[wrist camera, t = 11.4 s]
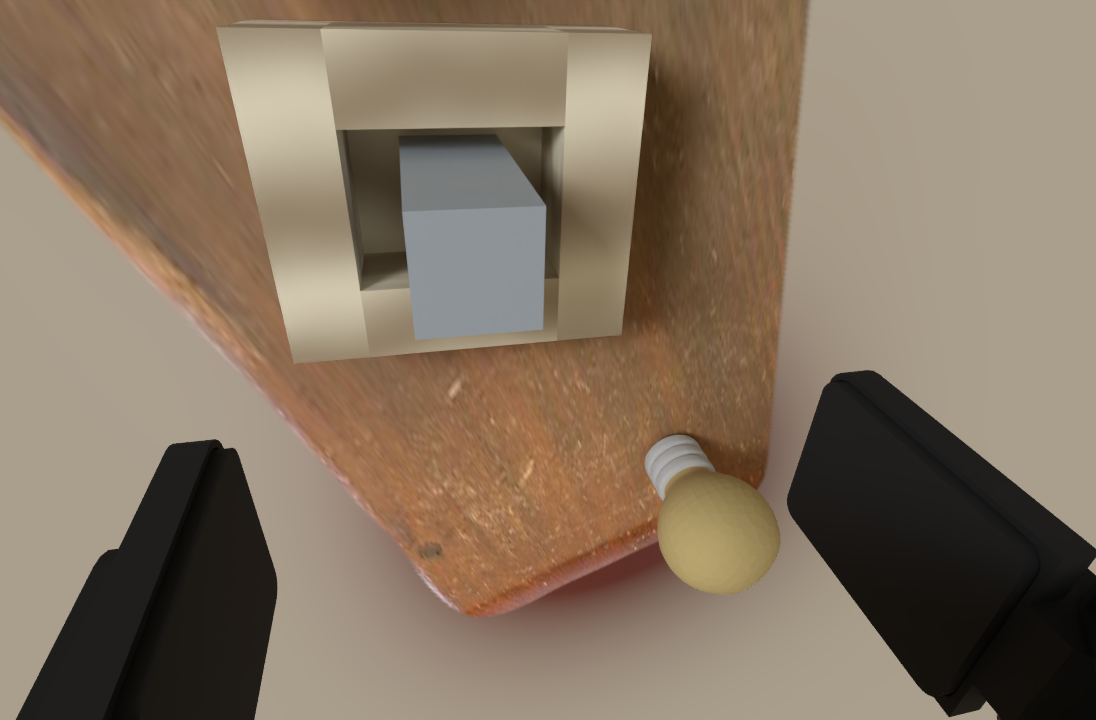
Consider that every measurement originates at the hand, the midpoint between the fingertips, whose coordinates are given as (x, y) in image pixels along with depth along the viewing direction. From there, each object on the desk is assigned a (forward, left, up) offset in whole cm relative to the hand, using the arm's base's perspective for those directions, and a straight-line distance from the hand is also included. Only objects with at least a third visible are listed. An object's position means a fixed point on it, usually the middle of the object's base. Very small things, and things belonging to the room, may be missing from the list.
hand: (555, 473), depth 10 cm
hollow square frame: (+1, 0, -20) cm, 20 cm away
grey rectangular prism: (+1, 0, -19) cm, 19 cm away
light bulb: (+19, +13, -21) cm, 31 cm away
